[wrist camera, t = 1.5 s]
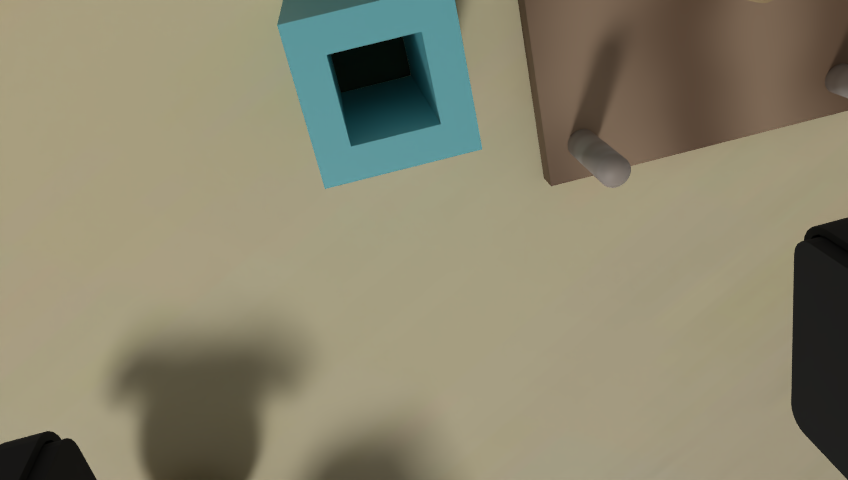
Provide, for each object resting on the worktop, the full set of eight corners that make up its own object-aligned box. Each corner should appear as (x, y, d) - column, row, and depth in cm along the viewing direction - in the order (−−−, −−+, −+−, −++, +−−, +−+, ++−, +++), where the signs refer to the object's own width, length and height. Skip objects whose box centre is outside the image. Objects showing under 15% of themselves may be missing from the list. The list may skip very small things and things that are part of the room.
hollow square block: (417, -36, 27) (451, -17, 20) (443, 95, 29) (482, 148, 23) (284, -4, 27) (277, 25, 20) (320, 126, 29) (325, 188, 22)
